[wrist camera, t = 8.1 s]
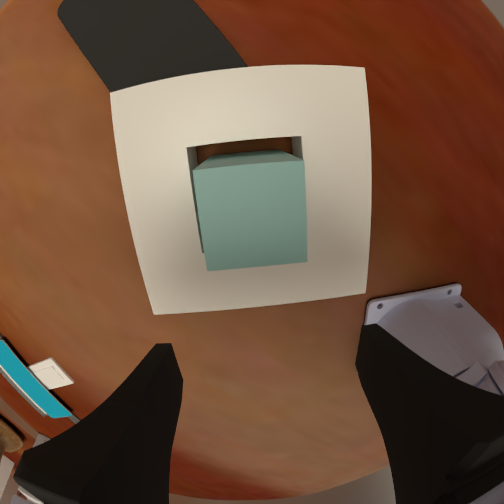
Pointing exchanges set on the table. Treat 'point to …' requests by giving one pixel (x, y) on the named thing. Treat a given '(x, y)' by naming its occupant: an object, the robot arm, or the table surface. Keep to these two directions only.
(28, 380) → the teal sliding drawer box
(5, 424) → the stone cup
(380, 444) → the table surface
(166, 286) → the socket block
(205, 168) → the peg
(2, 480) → the gable box
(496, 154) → the table surface
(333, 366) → the table surface
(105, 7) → the phone
